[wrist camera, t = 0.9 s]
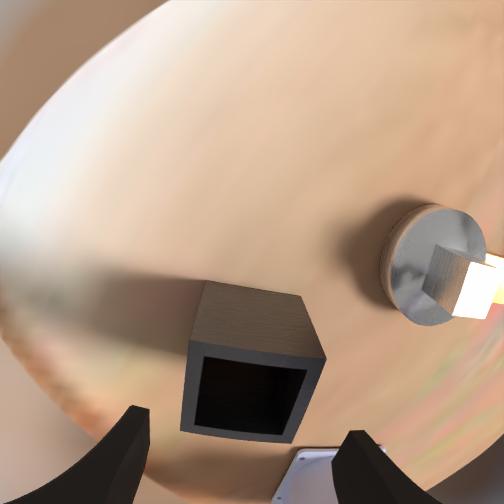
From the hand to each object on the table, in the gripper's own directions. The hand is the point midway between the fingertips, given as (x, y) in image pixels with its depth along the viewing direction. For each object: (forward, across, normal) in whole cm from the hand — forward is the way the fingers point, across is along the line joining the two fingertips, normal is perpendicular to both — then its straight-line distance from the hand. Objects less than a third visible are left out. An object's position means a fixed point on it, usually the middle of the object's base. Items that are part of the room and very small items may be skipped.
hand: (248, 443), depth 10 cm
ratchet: (+9, -17, -6) cm, 20 cm away
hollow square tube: (+8, 0, 0) cm, 8 cm away
